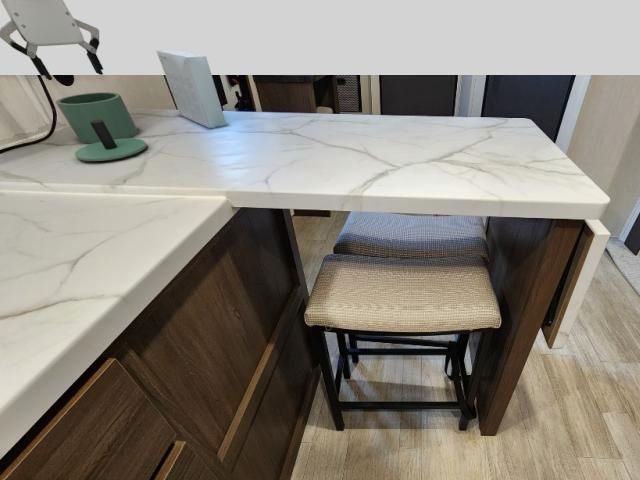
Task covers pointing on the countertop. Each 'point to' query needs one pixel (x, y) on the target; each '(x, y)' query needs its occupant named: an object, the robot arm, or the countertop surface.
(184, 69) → the skincare box
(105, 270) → the countertop surface
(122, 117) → the tin
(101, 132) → the tin lid
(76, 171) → the countertop surface
